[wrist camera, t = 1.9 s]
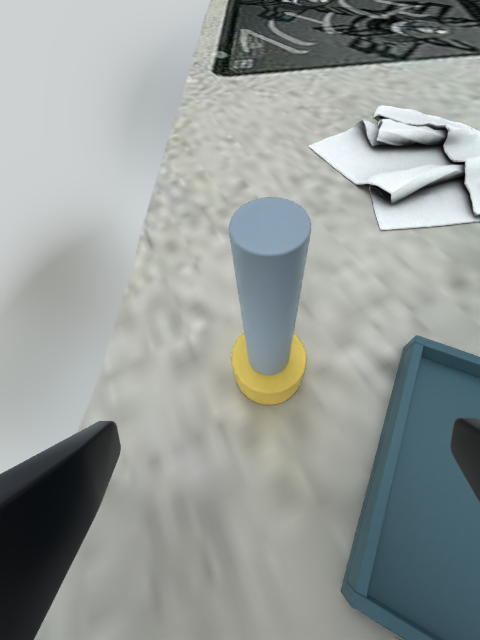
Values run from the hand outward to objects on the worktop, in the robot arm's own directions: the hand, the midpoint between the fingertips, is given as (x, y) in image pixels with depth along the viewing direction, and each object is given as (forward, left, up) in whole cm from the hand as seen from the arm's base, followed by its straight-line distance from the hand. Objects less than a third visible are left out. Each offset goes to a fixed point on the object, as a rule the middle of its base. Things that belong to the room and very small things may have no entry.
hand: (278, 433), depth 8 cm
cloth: (+25, +22, -12) cm, 36 cm away
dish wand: (+2, +6, -12) cm, 14 cm away
